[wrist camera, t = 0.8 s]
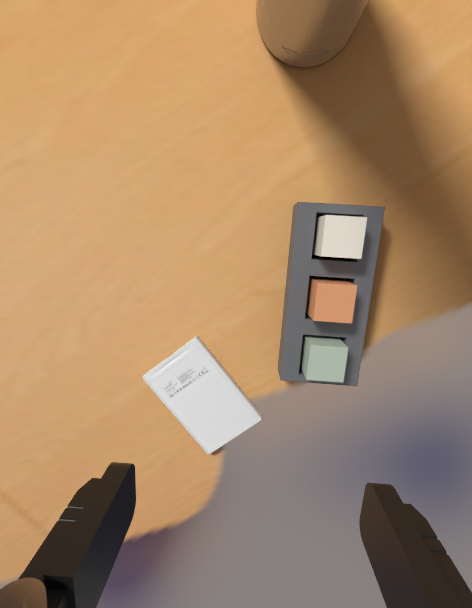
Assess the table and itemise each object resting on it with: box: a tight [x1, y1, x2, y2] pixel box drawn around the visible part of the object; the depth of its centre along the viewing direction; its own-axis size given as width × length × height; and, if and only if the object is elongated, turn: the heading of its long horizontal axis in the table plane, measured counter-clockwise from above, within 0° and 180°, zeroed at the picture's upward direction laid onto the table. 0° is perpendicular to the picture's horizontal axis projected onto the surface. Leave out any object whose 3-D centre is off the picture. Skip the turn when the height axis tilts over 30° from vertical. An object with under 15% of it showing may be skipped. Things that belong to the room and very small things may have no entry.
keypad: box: [278, 202, 385, 386], centre depth 31 cm, size 18×8×3 cm, turn 176°
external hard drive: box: [142, 336, 262, 454], centre depth 36 cm, size 2×8×12 cm
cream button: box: [313, 215, 367, 259], centre depth 28 cm, size 4×4×3 cm
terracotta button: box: [307, 278, 357, 323], centre depth 30 cm, size 4×4×3 cm
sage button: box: [301, 335, 348, 383], centre depth 31 cm, size 4×4×3 cm
